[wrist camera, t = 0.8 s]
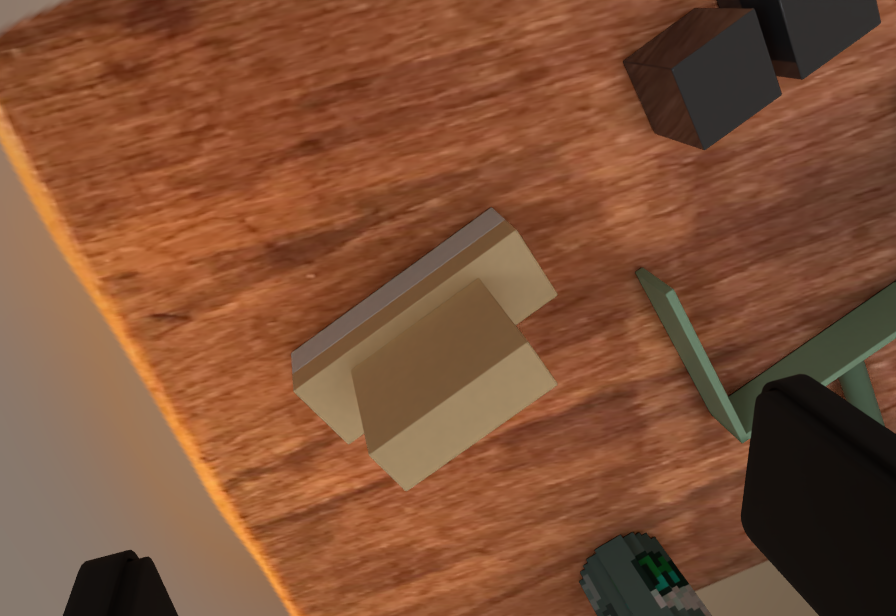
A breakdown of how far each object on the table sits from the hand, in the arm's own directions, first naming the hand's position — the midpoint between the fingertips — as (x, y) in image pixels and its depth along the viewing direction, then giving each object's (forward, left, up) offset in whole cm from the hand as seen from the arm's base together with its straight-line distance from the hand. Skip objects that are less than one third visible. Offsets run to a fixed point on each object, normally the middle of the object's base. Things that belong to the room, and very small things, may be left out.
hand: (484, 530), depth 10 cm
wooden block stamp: (+7, -1, -21) cm, 22 cm away
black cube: (+5, +16, -21) cm, 26 cm away
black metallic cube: (+5, +21, -21) cm, 30 cm away
